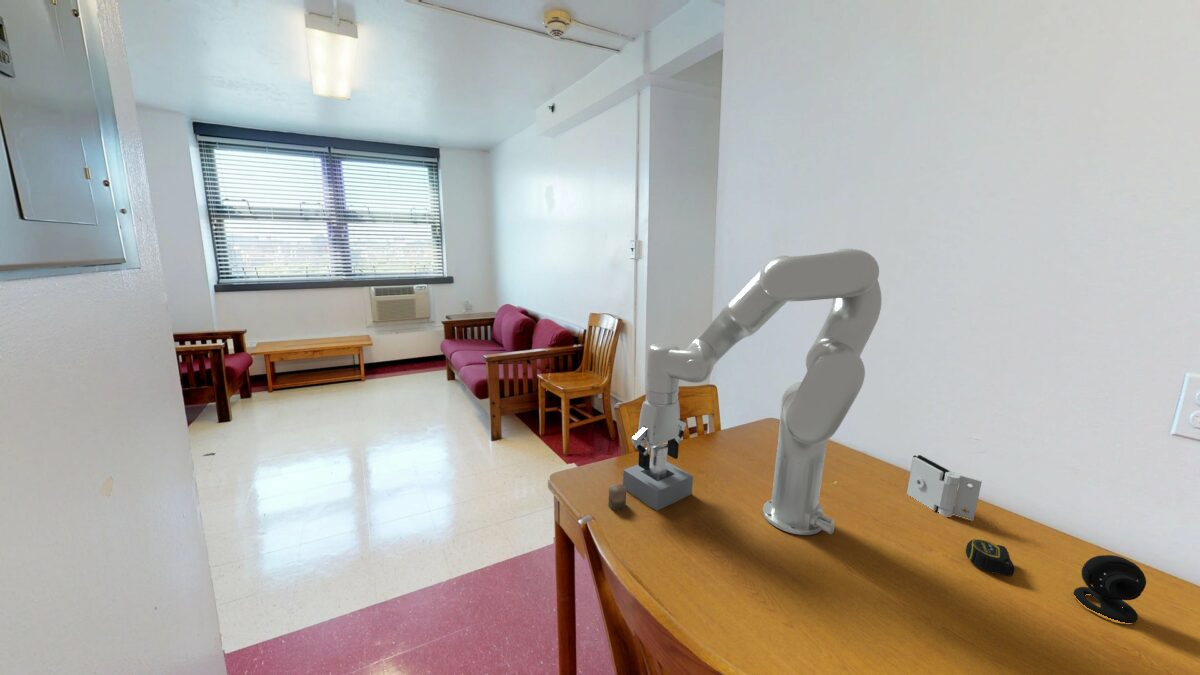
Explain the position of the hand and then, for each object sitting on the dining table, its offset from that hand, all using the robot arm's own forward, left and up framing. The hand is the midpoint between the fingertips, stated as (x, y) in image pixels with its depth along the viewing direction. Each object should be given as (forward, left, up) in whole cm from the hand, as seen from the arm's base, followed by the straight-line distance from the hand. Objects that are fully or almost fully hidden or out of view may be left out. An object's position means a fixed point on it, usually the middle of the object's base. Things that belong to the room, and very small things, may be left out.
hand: (658, 462), depth 110 cm
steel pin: (0, 0, -8) cm, 8 cm away
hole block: (0, 0, -8) cm, 8 cm away
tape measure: (-57, -34, -8) cm, 67 cm away
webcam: (-72, -37, -8) cm, 81 cm away
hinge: (-44, -50, -8) cm, 67 cm away
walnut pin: (+1, +12, -8) cm, 14 cm away
